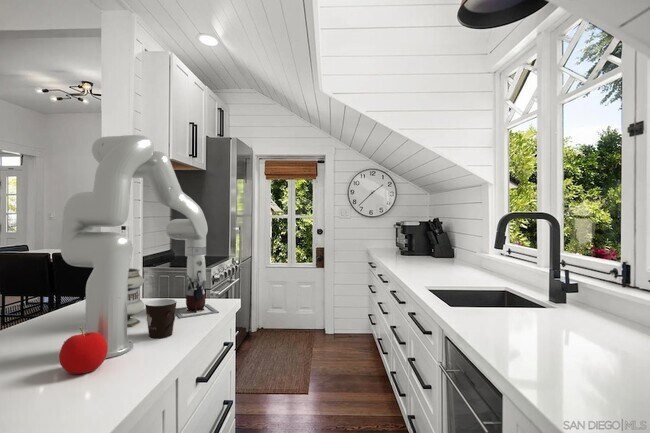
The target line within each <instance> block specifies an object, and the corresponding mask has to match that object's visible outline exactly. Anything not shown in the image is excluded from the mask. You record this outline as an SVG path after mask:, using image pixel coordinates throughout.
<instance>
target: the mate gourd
mask: <svg viewBox="0 0 650 433" xmlns="http://www.w3.org/2000/svg"><path fill="white" fill-rule="evenodd" d="M184 275H185V276H186V277H188V279H187V280H188V282H190V286H191V289H190V290H189V291H188V290H187V292H186V296H185V304H186V306H185V307H187V309H186V313H188V311H189V312H194V314H198V312H200V311H201V312H202V311H205V306H204V305H205V304H206V299H207V298H206V292H205V290H204V289H203V299H202V300H197V301H194V290H195V289H193V288H192V284H191V278H190V277H189V276H188V275H187V273H184Z"/></svg>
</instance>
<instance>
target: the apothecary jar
mask: <svg viewBox="0 0 650 433" xmlns="http://www.w3.org/2000/svg"><path fill="white" fill-rule="evenodd" d="M144 283H145V279H144V277H143V276H142V275H140V271H139V269H138V268H130V267H129V272H128V301H127V328H129V327H130V328H131V327H135V326H137V325H139V324H140V323H141V321H140V320H139V319H138V318H135V317H132V316H135V315H138V314H139V313H140V312H142V310H144V307H145V304H144V303H145V302H144V301H143V300H142V299H141V287H142V286H143V285H144Z"/></svg>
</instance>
